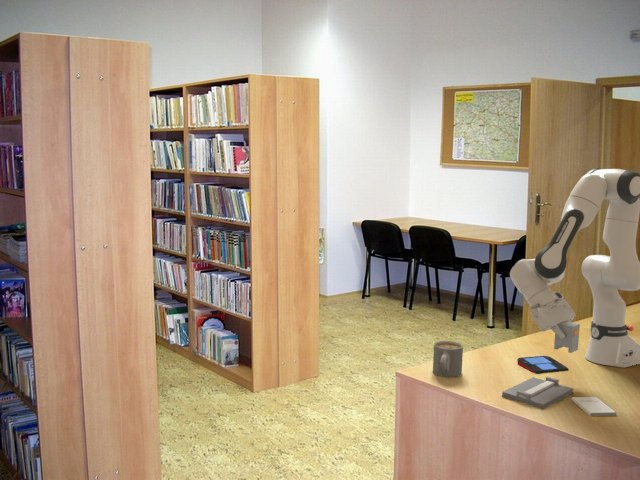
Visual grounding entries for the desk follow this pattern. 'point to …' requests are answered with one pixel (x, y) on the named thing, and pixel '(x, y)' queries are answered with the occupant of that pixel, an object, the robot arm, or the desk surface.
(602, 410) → the external hard drive
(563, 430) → the desk surface
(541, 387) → the rail mount
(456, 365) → the coffee mug
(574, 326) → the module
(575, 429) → the desk surface
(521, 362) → the game console
